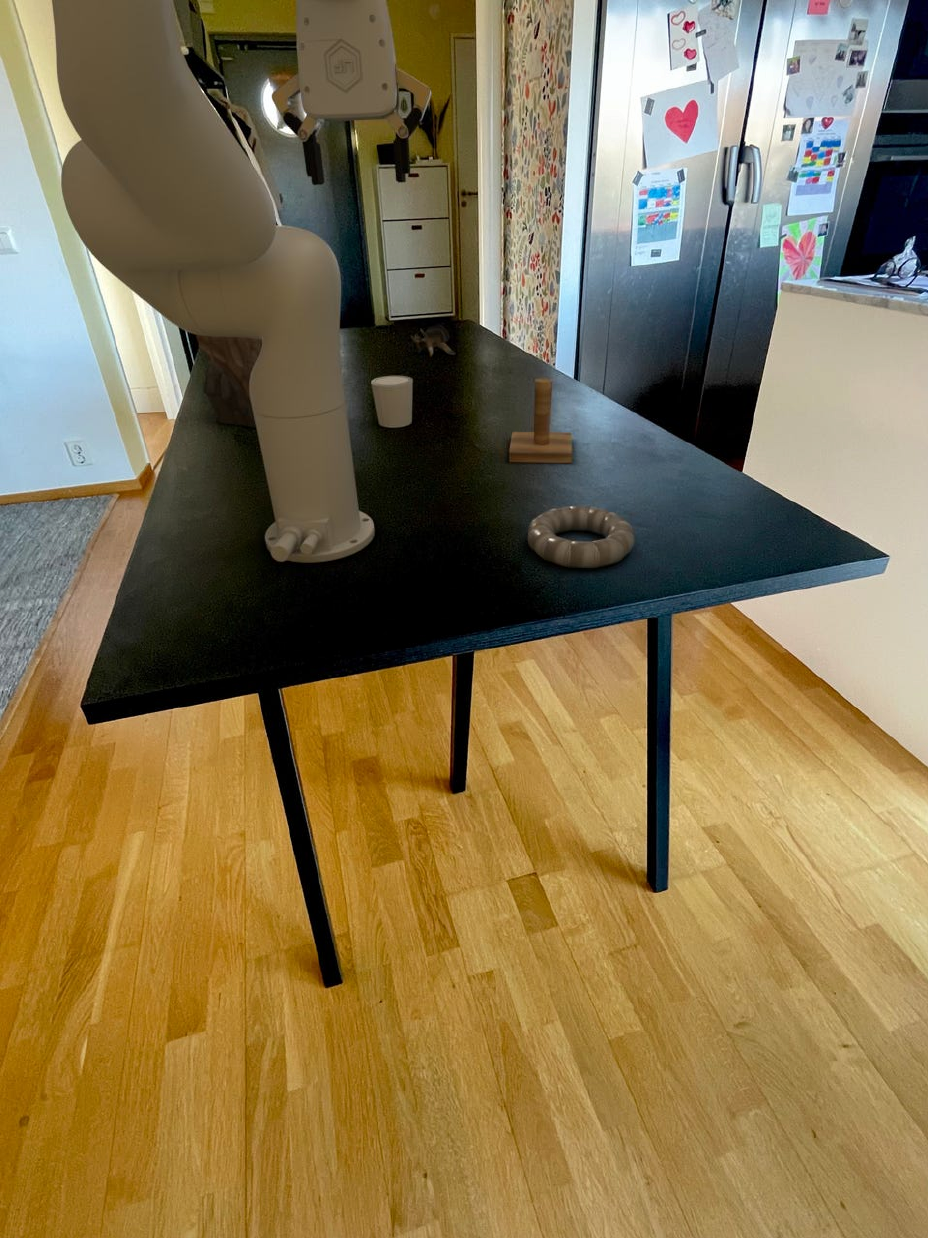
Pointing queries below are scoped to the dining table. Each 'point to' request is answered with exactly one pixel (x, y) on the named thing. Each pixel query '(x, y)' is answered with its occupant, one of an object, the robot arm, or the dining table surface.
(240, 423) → the owl
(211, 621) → the dining table surface
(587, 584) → the dining table surface
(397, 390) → the white cup
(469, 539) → the dining table surface
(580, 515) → the striped ring
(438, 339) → the grey toy animal
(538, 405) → the stand
